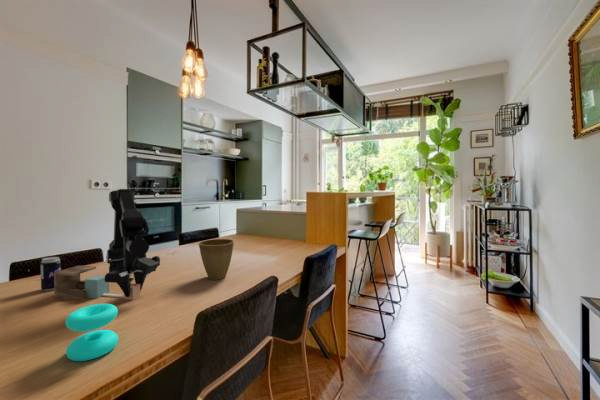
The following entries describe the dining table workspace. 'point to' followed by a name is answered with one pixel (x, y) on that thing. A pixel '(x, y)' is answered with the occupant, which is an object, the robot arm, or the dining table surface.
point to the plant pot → (216, 257)
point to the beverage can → (49, 272)
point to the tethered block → (107, 288)
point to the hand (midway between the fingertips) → (133, 293)
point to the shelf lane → (70, 282)
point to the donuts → (93, 341)
